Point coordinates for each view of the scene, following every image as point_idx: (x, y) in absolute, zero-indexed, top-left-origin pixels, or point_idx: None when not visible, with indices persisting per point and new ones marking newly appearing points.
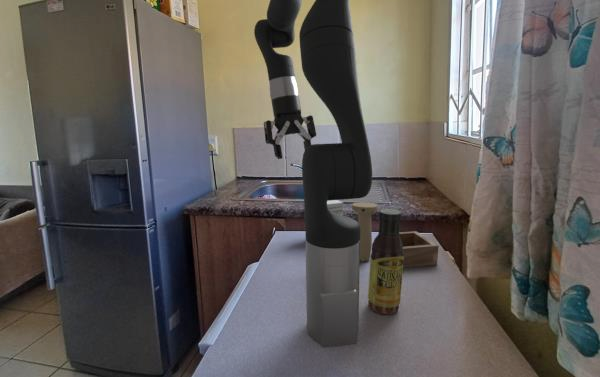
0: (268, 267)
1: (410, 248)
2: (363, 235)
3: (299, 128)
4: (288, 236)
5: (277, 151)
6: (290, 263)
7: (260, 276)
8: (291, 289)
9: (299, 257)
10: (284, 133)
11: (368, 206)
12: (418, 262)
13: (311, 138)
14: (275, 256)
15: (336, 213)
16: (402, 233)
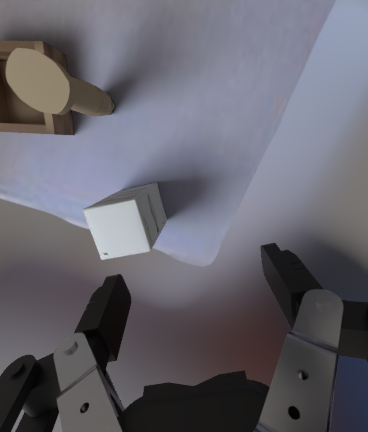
0: (268, 113)
1: (15, 41)
2: (85, 82)
3: (110, 422)
4: (203, 240)
5: (297, 268)
6: (228, 121)
7: (290, 78)
8: (252, 11)
9: (207, 142)
10: (282, 361)
11: (31, 60)
12: None
13: (57, 350)
14: (246, 158)
15: (109, 200)
16: (10, 125)
